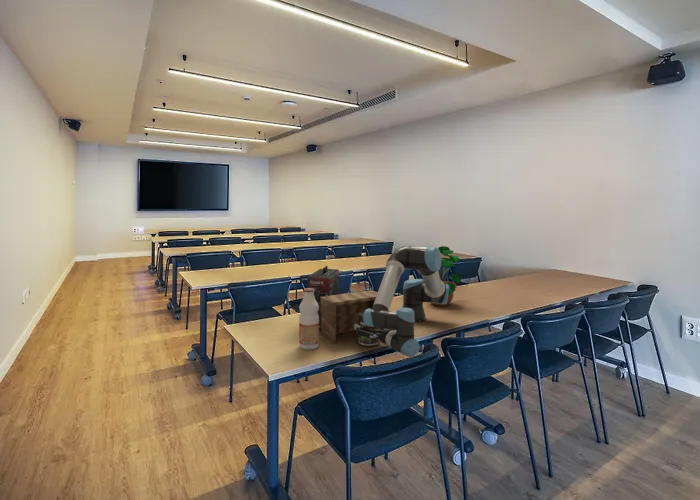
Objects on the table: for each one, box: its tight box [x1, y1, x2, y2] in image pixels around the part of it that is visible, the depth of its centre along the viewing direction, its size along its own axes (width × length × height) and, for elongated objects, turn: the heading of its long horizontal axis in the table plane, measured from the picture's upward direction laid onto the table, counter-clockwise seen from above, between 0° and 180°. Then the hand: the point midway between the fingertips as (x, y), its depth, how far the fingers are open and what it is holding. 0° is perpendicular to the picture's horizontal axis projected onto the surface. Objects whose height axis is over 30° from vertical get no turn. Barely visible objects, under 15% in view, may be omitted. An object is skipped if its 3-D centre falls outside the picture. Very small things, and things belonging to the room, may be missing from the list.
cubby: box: [320, 289, 382, 345], centre depth 200 cm, size 31×14×20 cm, turn 121°
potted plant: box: [432, 246, 462, 307], centre depth 259 cm, size 31×29×40 cm
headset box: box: [306, 265, 340, 332], centre depth 216 cm, size 24×13×33 cm, turn 168°
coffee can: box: [357, 311, 380, 347], centre depth 188 cm, size 10×10×14 cm
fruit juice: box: [298, 287, 320, 351], centre depth 182 cm, size 9×9×28 cm
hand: (364, 324), depth 192 cm, fingers closed on coffee can, 10 cm apart
